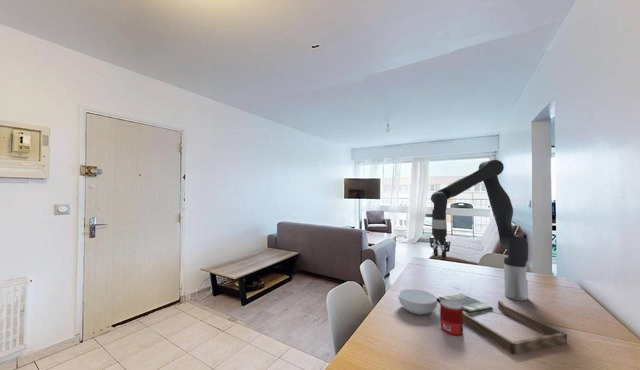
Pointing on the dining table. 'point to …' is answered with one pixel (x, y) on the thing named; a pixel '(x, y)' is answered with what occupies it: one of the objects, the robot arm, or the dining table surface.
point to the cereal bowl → (417, 301)
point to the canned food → (451, 317)
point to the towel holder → (517, 347)
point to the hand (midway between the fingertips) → (439, 257)
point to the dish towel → (468, 304)
